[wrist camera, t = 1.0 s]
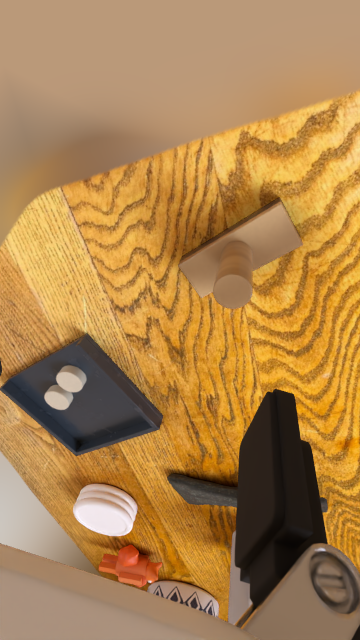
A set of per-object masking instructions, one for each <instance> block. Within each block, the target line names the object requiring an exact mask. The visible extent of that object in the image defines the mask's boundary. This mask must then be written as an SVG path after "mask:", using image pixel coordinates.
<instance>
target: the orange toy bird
mask: <svg viewBox="0 0 360 640" xmlns="http://www.w3.org/2000/svg"><path fill="white" fill-rule="evenodd" d="M161 566H162V562H159V563H152V562H151V561H150V559H149V555H143V554H139V551H138V550H137V549H136V548H135V547H134V546H133V545H128V546H127V547H123V548H121V549H120V550H119V553H118V556H115V555H109V554H104V556H103V562H101V563H100V565H99V571H102V572H108V573H113V574H116V576H118V580H119V582H124V583H129V584H134V585H136V586H137V587H142V586H144V585H146V583H147V581H148V583H154V582H155V580H158V571H159V569H160V568H161Z"/></svg>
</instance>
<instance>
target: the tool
mask: <svg viewBox="0 0 360 640" xmlns="http://www.w3.org/2000/svg"><path fill="white" fill-rule="evenodd" d="M167 479H168V481H169V483H170V484H171V485H172V486H173V488H174V489H175V490H176V491H177V492H178V493H179V494H180V495H181V496H182V497H183V498H184V500H185V501H186V502H187V503H189V504H195V505H204V504H209V505H220V506H233V507H237V493H238V487H230V486H223V485H220V484H216V483H211V482H207V481H203V480H197V479H192V478H189V477H186V476H184V475H178V474H171V475H169V476H168V477H167ZM320 502H321V508H322V512H327V509H328V506H327V500H326V499H325V498H323V497H320Z"/></svg>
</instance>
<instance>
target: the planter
mask: <svg viewBox="0 0 360 640" xmlns="http://www.w3.org/2000/svg"><path fill="white" fill-rule="evenodd" d="M147 592H149V593H152V594H154V595H157V596H160V597H163V598H166V599H169V600H171V601H174V602H177V603H180V604H183V605H186V606H188V607H191V608H194V609H197V610H200V611H202V612H205V613H207V614H210V615H212V616H214V617H217V618H218V614H219V605H218V602H217V601H216V600H215V598H214V597H213V596H212V595H210V594H209V593H208V592H206V591H204V590H202V589H200V588H198V587H196V586H193V585H190V584H187V583H183V582H178V581H158V582H155V583H153V584H151V585H150V586H149V587H148V591H147Z"/></svg>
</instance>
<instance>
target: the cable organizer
mask: <svg viewBox="0 0 360 640" xmlns="http://www.w3.org/2000/svg"><path fill="white" fill-rule="evenodd" d="M235 536H236V530H235V532H234V533H233V535H232V549H231V572H230V591H229V610H228V622H229V623H231V624H233V625H235V623H236V622H237V621H238V620H239V619H240V617H241V616H242V615H243V614H244V613H245V611H246V610H247V609H248V608H249V606H250V605H251V604H252V601H251V599H250V584H248V583H245V582H242V581H240V568H238V567H236V566H235V561H234V560H235Z"/></svg>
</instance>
